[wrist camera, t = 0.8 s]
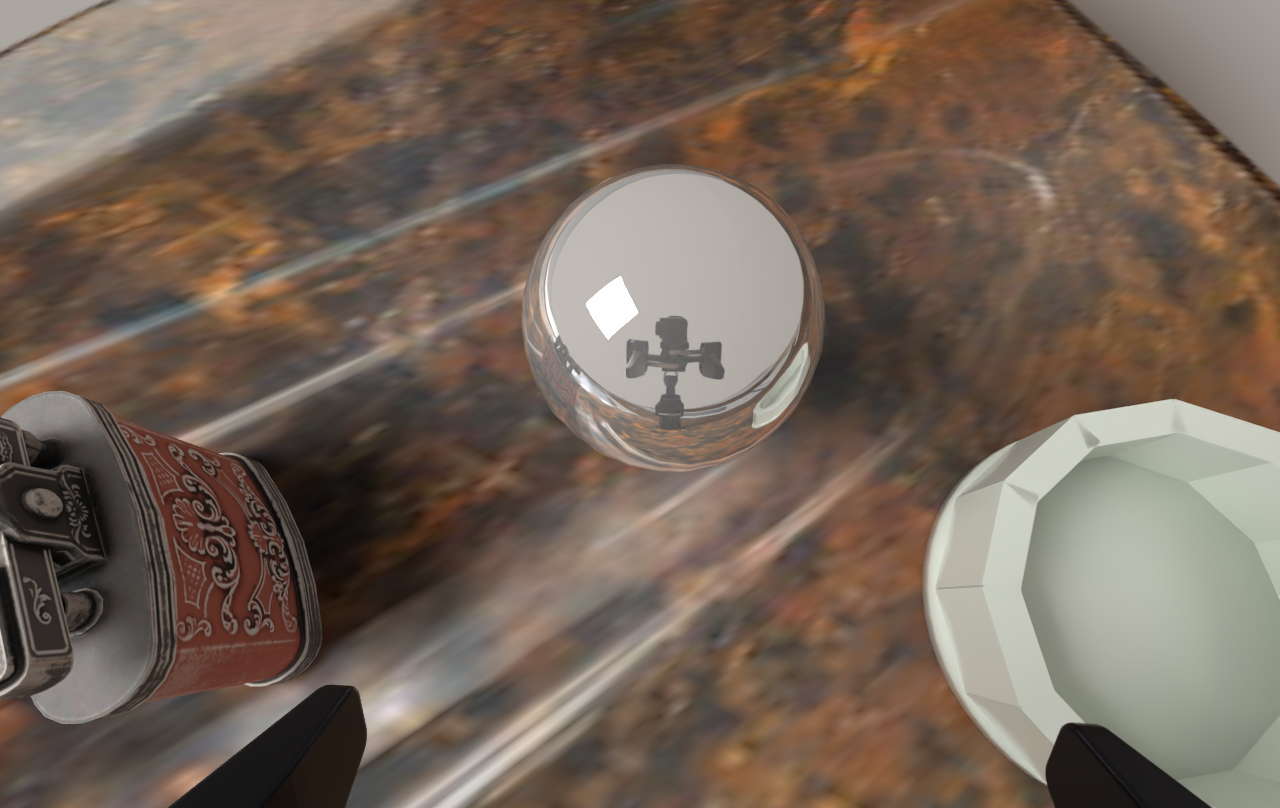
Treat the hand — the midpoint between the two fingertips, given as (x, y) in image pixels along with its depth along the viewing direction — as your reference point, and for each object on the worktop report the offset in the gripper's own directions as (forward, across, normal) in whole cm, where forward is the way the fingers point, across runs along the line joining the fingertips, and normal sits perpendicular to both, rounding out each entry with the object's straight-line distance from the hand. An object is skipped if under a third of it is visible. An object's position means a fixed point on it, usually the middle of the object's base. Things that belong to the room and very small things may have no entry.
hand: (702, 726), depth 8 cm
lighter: (+11, +14, +7) cm, 20 cm away
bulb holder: (+11, -14, +7) cm, 19 cm away
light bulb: (+15, 0, +3) cm, 15 cm away
